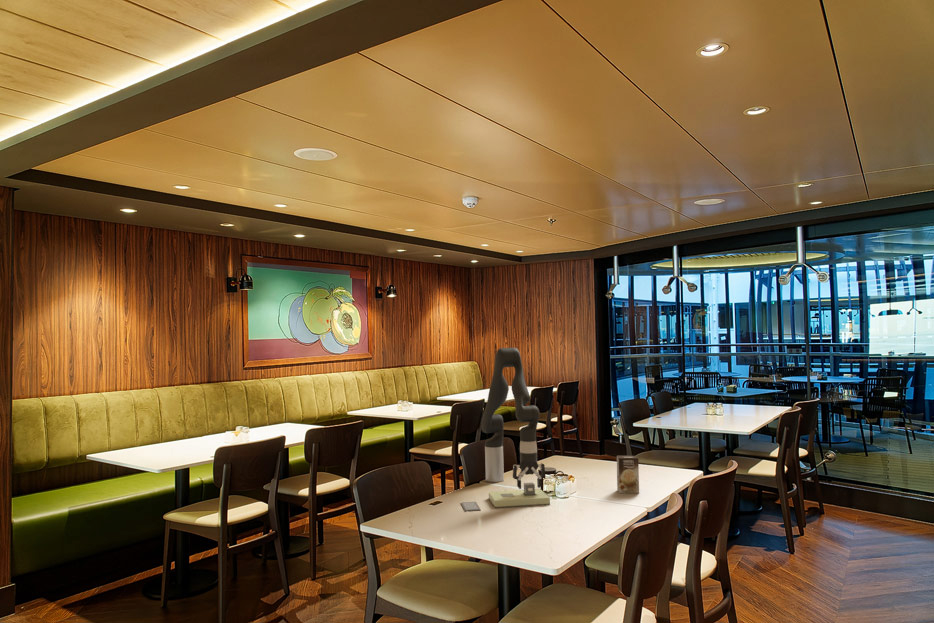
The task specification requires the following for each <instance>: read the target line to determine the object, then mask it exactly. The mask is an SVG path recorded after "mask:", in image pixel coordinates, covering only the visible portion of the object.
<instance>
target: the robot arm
mask: <svg viewBox="0 0 934 623" xmlns="http://www.w3.org/2000/svg"><path fill="white" fill-rule="evenodd" d="M493 366H494V367H493V373H492V378H491V382H490V387H489V392H488V394H487V396H488V397H487V400H486V405H485V409H484V412H483V414H482V418H481V422H480V427H481V431H482V432H483V433H485V434H493V435H492V437H490V438H487V439H486V440H485V442H484V455H485V456H484V458H485V459H484V460H485V461H484V462H485V463H484V464H485V466H484V467H485V481H486V482H490V483H500V482H503V481H504V480H505V476H504V472H505V471H504V467H505V466H504V425H505V424H504V418H503V416H502V414H499V413H498V414H495V412H496V411H498V410H499V408H501V406H502V405H504V404H505V402H506V401H507V399H508V395H509V389H510V388H509V384H508V381H507V380H506V378H505V375H504V374H503V370H504V368H514V372H515V373H514V377H513V379H512V382H511V392H512V395H513V398H514V399H513V400H514V403H515V418H516V419H517V421H519V422H520V423H528V424H527V425H526V426H523V427H521V428H520V431H519V437H520V438H519V439H520V442H519V461H520V462H519V464H513V465H512V478H513V479H514V480H516V485H517V488H518V490H522V478H523V477H524V476H525V475H535V476H536V478H537V479H536V481H537V483H536V484H537V485H536V486H537V489H541V487H540V486H541V479H542V478H545V467H546V466H545V464H544V463H543V462H541V463H538V447H537V446H538V444H537V428H538V423H539V419H540V414H541V413H540V410H539V408H538V406H536V405H533V404H532V405H527V404H528V403H529V402H530V400H531V395H530V392H529V390H528V387H527V383H526V380H525V373H524V368H523V362H522V357H521V353H520V351H519V349H518V348H517V347H501V348H498V349H497V351H496V353H495V358H494V364H493ZM538 468H540V469H541V475H539V473H538ZM518 470H520V471H519V473H518ZM517 473H518V474H517Z"/></svg>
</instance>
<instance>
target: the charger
mask: <svg viewBox="0 0 934 623" xmlns="http://www.w3.org/2000/svg"><path fill="white" fill-rule="evenodd" d="M535 489H536V484H535V483H534V482H524V483H523V490H524V495H525V496H533V495H535Z"/></svg>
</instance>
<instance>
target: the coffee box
mask: <svg viewBox="0 0 934 623" xmlns="http://www.w3.org/2000/svg"><path fill="white" fill-rule="evenodd" d="M639 469H640V468H639V457H638V456H636V455H616V480H617V481H616V484H617V486H616V487H617V488H616V489H617V492H618V493H619V494H640V475H639V474H640V473H639Z"/></svg>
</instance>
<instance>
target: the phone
mask: <svg viewBox="0 0 934 623" xmlns="http://www.w3.org/2000/svg"><path fill="white" fill-rule="evenodd" d="M460 505H461V506H462V509H463V508H464V509H463V511H464V510H465V511H464V512H466V511H468V512H481V508H480V506H479V505H478V503H477V501H465V502H464V501H463V502H460Z"/></svg>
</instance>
